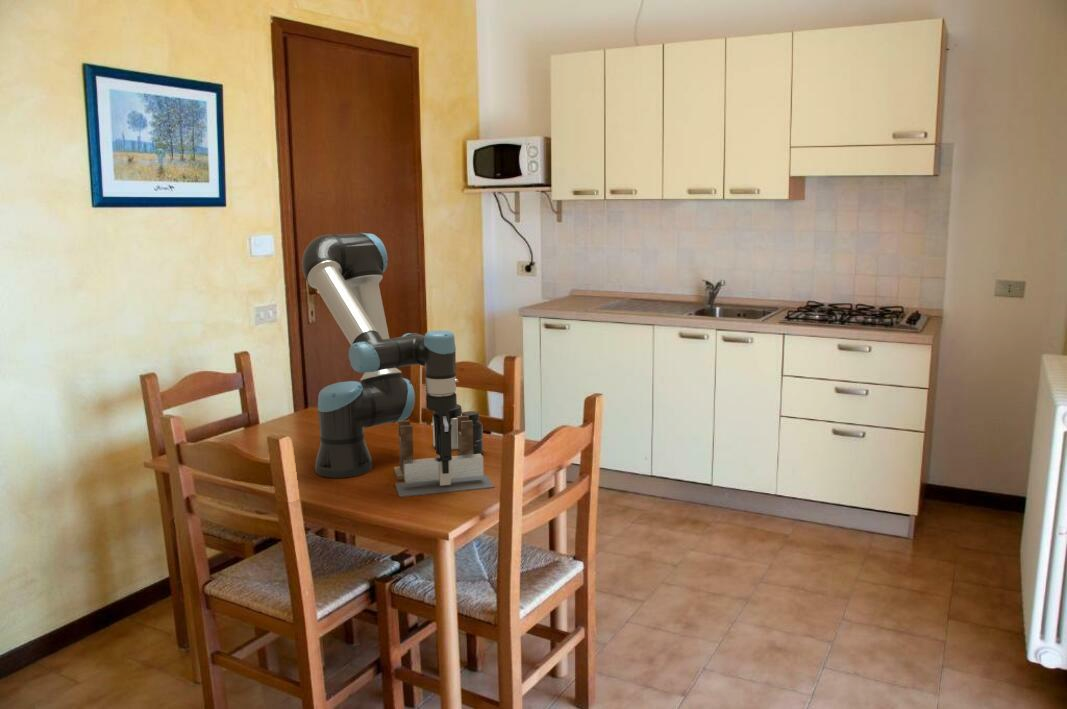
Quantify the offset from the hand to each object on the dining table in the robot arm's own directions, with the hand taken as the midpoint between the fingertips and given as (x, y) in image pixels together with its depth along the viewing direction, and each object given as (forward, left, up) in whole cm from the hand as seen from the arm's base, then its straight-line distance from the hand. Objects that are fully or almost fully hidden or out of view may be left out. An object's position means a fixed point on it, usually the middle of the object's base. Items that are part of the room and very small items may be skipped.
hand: (444, 481), depth 216 cm
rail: (0, 0, +1) cm, 1 cm away
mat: (0, 0, -1) cm, 1 cm away
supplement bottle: (+12, +25, -1) cm, 28 cm away
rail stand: (0, +12, -1) cm, 12 cm away
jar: (+7, +34, -1) cm, 35 cm away
